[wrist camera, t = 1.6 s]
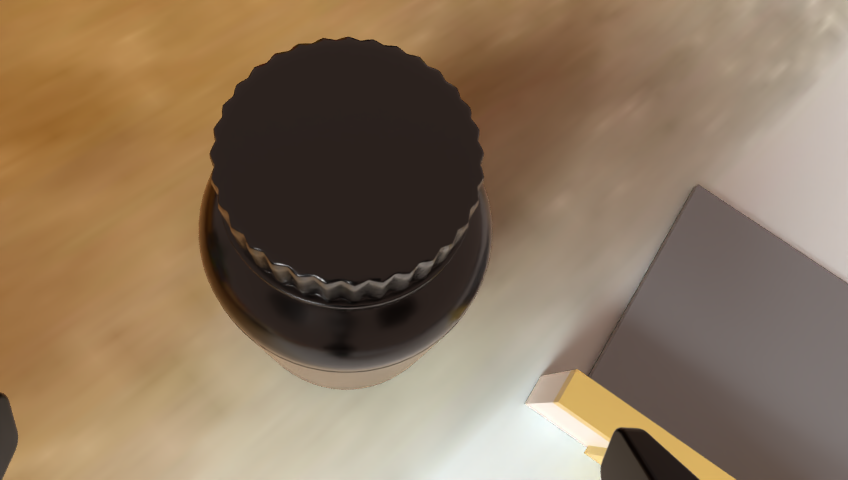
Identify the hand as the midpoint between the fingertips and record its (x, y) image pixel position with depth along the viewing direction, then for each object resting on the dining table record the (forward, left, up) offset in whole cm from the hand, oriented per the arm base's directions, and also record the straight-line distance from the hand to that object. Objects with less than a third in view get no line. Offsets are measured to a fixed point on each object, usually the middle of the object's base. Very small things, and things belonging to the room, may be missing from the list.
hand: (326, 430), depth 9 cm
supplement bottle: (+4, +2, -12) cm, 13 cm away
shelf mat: (+11, -13, -12) cm, 21 cm away
